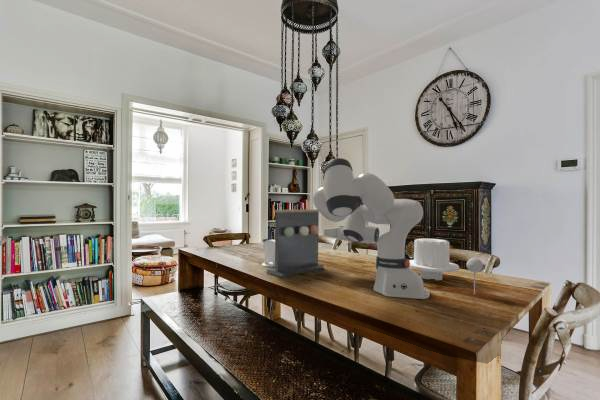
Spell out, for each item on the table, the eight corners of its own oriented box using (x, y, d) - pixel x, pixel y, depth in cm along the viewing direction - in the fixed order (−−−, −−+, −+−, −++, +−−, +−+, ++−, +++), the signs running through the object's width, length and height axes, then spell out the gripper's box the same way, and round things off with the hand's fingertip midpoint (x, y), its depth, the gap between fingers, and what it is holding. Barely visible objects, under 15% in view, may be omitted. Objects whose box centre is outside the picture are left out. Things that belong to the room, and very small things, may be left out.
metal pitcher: (285, 264, 184) (285, 239, 184) (274, 267, 174) (274, 241, 174) (269, 262, 190) (269, 237, 190) (257, 265, 180) (258, 239, 180)
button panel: (323, 268, 174) (324, 209, 175) (283, 277, 151) (283, 210, 151) (307, 264, 182) (308, 209, 183) (267, 273, 159) (267, 209, 159)
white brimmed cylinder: (408, 270, 171) (408, 236, 171) (458, 275, 160) (458, 239, 161) (402, 280, 149) (402, 241, 149) (460, 286, 138) (460, 244, 138)
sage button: (294, 236, 158) (294, 227, 158) (287, 237, 154) (287, 227, 154) (289, 235, 160) (290, 226, 160) (283, 236, 156) (283, 227, 156)
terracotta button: (318, 233, 172) (318, 225, 172) (313, 234, 169) (313, 225, 169) (314, 233, 174) (314, 225, 174) (309, 234, 171) (309, 225, 171)
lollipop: (476, 297, 122) (477, 259, 122) (463, 293, 127) (463, 257, 127) (486, 295, 124) (486, 258, 125) (472, 291, 130) (472, 256, 130)
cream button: (308, 235, 164) (308, 226, 164) (302, 235, 161) (302, 226, 161) (304, 234, 166) (304, 226, 166) (298, 235, 163) (298, 226, 163)
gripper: (360, 225, 163) (339, 223, 173) (337, 227, 148) (316, 225, 158) (360, 237, 163) (339, 234, 173) (337, 240, 148) (315, 237, 158)
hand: (328, 230), depth 165 cm, fingers closed
